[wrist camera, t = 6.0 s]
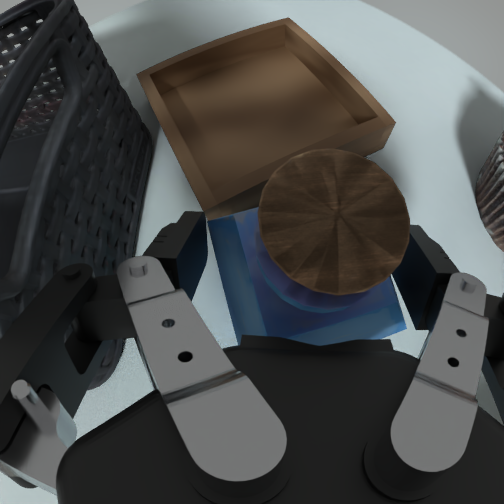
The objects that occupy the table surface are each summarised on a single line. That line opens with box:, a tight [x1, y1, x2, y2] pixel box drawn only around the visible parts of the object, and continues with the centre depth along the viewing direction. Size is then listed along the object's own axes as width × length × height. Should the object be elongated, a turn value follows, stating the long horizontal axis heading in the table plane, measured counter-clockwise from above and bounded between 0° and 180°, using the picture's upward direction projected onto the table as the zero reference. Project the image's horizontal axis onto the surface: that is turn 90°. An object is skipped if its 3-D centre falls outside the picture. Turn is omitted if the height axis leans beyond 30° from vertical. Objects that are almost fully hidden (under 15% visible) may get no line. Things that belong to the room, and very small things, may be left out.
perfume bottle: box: [207, 148, 410, 346], centre depth 12 cm, size 6×6×12 cm
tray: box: [136, 18, 396, 221], centre depth 20 cm, size 13×13×3 cm
